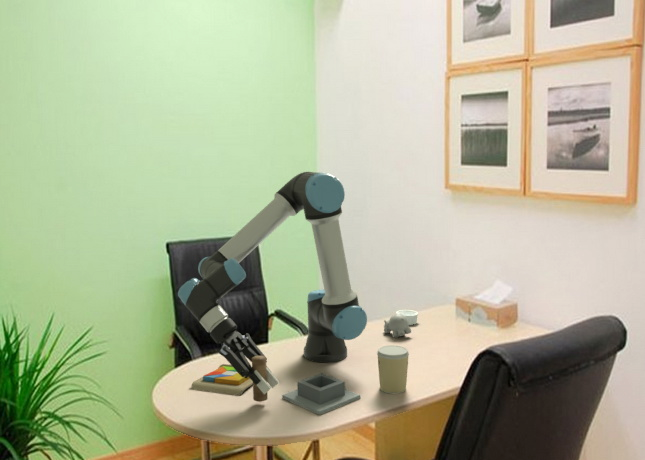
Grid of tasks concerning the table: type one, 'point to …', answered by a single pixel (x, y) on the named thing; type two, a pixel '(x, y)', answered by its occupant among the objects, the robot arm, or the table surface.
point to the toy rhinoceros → (397, 325)
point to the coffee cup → (392, 368)
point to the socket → (321, 394)
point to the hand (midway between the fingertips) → (271, 387)
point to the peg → (260, 366)
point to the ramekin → (409, 316)
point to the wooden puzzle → (223, 381)
